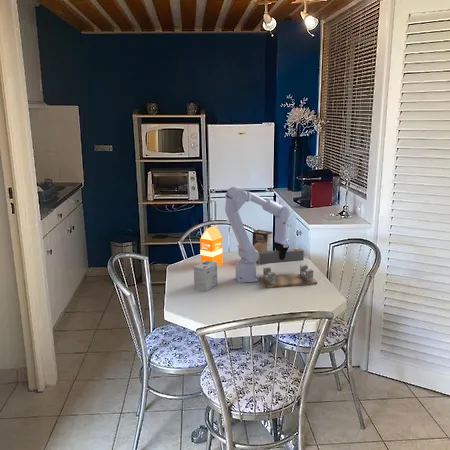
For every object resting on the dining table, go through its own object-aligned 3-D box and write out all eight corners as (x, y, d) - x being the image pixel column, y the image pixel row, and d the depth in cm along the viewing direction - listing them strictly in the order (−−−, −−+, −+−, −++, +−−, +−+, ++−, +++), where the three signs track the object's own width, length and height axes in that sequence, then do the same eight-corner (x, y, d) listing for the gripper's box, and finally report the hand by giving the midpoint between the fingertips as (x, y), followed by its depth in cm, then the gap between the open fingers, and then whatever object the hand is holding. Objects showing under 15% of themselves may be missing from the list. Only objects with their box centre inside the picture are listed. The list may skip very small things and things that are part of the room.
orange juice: (200, 265, 243) (199, 227, 239) (210, 261, 251) (210, 224, 246) (212, 268, 239) (212, 229, 235) (222, 263, 246) (222, 226, 242)
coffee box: (251, 261, 250) (251, 231, 246) (257, 258, 255) (257, 229, 251) (267, 264, 245) (267, 234, 241) (272, 260, 250) (273, 231, 247)
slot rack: (266, 288, 211) (266, 275, 210) (259, 279, 222) (259, 267, 221) (317, 284, 216) (317, 271, 214) (307, 275, 227) (308, 263, 226)
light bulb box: (205, 282, 220) (204, 259, 217) (218, 284, 217) (217, 261, 214) (193, 289, 210) (193, 266, 208) (207, 292, 208) (206, 268, 205)
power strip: (260, 264, 224) (260, 252, 223) (257, 262, 227) (257, 250, 226) (303, 260, 229) (303, 249, 228) (300, 258, 232) (300, 247, 231)
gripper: (294, 233, 218) (293, 262, 222) (284, 226, 232) (283, 253, 235) (279, 234, 217) (279, 263, 220) (270, 227, 231) (270, 254, 234)
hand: (280, 258), depth 228 cm, fingers closed on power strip, 4 cm apart
